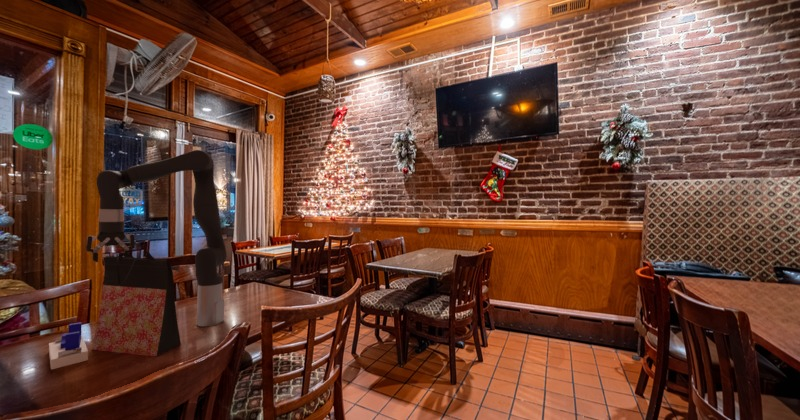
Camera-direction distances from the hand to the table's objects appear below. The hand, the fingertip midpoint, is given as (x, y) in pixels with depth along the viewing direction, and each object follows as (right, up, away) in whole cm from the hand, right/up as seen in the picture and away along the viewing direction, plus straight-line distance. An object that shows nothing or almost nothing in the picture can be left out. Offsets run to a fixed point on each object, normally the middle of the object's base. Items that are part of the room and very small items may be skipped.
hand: (111, 260), depth 125 cm
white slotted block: (+5, -28, -21) cm, 36 cm away
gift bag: (+24, -29, -14) cm, 40 cm away
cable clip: (+6, -26, -21) cm, 34 cm away
